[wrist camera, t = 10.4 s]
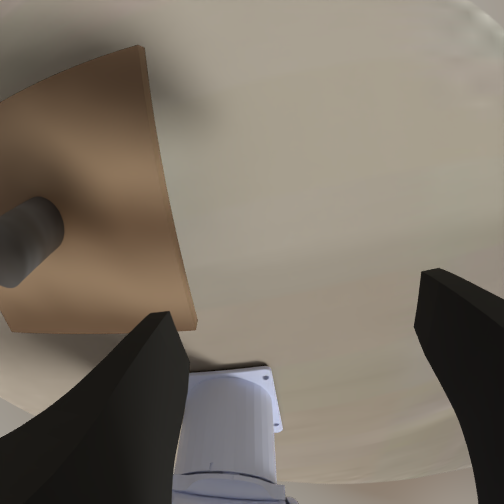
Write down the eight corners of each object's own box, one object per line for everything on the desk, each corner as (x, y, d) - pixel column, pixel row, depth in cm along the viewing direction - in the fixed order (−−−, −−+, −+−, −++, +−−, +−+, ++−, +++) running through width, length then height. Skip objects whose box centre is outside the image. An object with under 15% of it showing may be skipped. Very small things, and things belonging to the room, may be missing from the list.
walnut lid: (197, 320, 16) (184, 383, 12) (17, 324, 17) (-14, 366, 13) (144, 47, 10) (98, 26, 6) (-46, 135, 11) (-97, 152, 7)
